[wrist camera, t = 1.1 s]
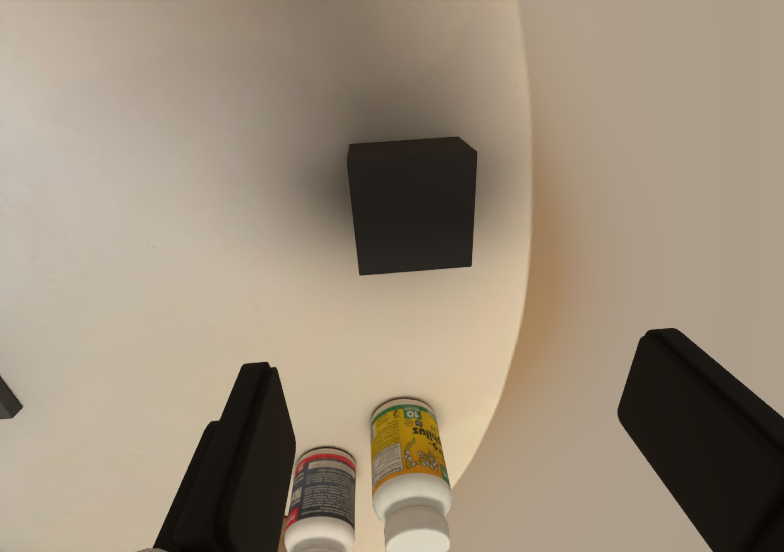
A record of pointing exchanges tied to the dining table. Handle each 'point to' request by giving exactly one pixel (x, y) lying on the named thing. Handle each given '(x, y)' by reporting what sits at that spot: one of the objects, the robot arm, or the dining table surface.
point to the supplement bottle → (409, 477)
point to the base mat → (8, 402)
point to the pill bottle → (322, 503)
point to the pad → (412, 204)
